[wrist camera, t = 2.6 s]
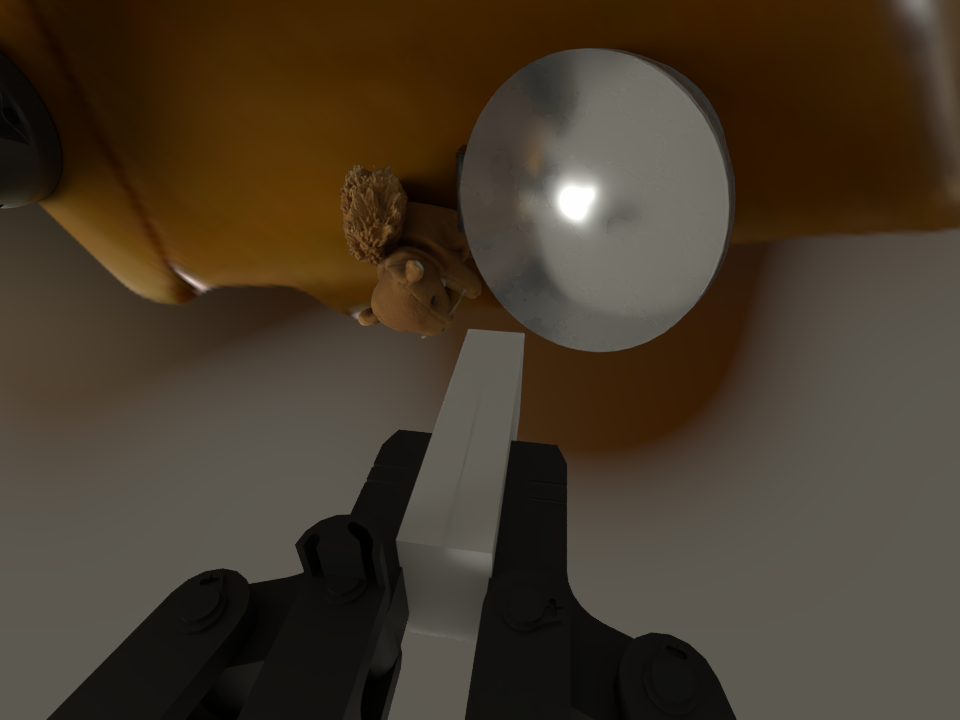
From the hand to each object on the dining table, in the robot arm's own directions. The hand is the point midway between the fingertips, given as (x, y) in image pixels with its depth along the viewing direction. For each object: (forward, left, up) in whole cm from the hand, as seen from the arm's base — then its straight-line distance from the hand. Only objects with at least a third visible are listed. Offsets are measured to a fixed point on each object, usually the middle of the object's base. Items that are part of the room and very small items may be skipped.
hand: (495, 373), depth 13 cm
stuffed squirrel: (-4, -12, -31) cm, 33 cm away
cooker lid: (+2, +2, -15) cm, 15 cm away
